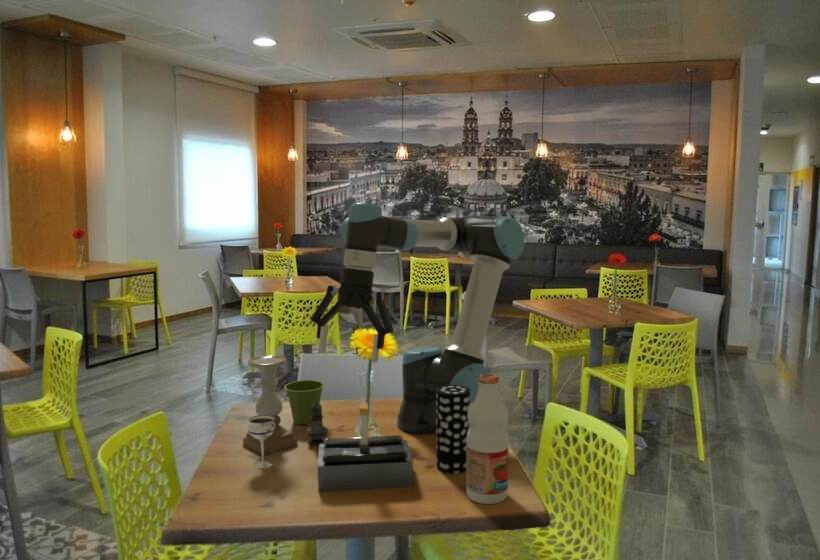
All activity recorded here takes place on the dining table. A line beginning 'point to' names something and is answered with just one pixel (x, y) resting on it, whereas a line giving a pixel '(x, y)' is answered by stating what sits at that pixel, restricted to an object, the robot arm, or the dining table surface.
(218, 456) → the dining table surface
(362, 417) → the breaker lever
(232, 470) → the dining table surface
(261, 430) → the wineglass
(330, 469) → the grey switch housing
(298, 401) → the plant pot
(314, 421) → the salt shaker
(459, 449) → the spotted tube
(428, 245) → the robot arm
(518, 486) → the dining table surface
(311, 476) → the dining table surface
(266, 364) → the candle holder
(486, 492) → the fruit juice
